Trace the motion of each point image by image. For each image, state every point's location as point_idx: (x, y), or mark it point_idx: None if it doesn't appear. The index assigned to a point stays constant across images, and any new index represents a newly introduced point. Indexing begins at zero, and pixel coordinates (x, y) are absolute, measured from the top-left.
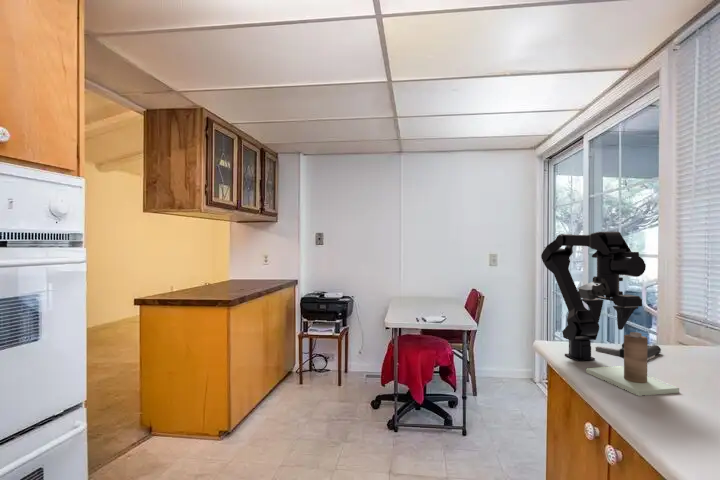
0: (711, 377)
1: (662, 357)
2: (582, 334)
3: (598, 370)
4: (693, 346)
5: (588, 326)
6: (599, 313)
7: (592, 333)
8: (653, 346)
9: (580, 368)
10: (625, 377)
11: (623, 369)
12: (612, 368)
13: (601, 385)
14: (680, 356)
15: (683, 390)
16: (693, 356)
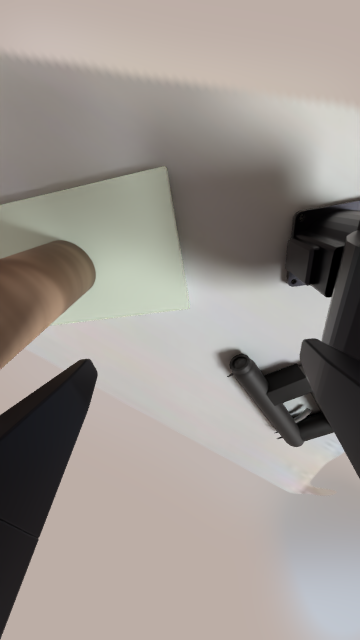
0: (146, 413)
1: (262, 422)
2: (343, 250)
3: (141, 203)
4: (304, 482)
5: (356, 306)
6: (344, 438)
7: (328, 313)
8: (290, 438)
9: (214, 172)
10: (58, 241)
11: (156, 292)
12: (165, 267)
13: (32, 141)
14: (260, 443)
15: (62, 336)
16: (255, 455)
